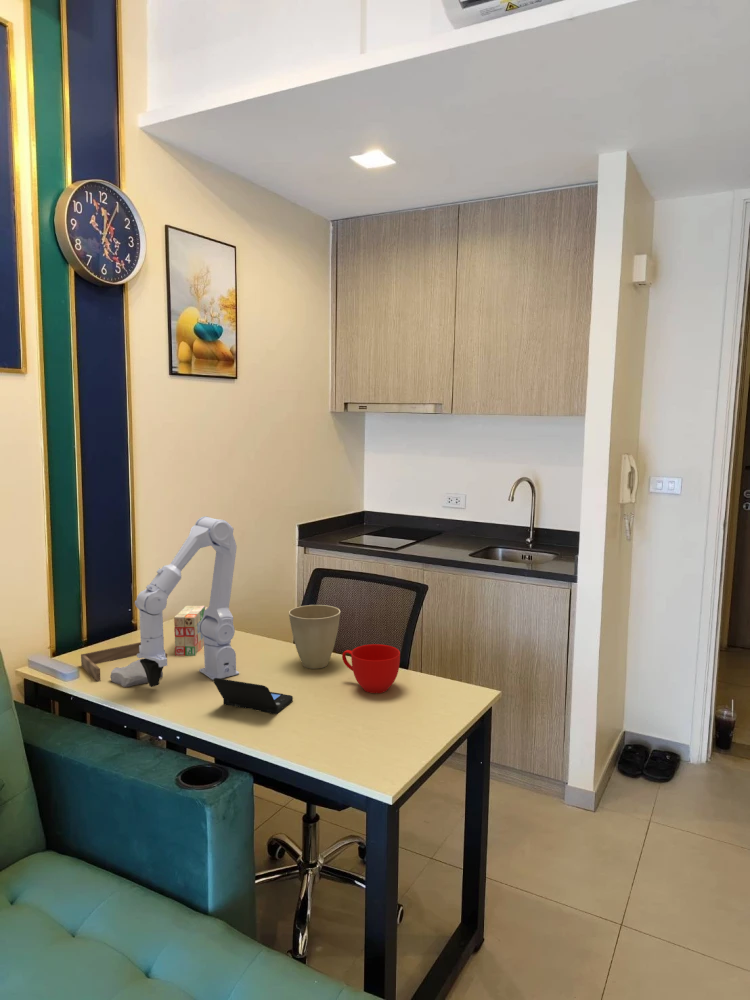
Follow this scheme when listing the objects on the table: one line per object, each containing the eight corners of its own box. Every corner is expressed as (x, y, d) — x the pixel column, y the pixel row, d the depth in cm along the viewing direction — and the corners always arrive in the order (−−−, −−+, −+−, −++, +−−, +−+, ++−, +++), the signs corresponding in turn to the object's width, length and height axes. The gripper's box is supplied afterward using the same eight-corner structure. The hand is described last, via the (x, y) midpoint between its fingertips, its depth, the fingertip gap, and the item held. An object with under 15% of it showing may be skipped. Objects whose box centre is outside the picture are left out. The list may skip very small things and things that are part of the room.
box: (167, 665, 199) (166, 653, 198) (97, 681, 187) (96, 669, 186) (148, 651, 210) (147, 640, 210) (81, 666, 198) (80, 654, 198)
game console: (295, 701, 175) (294, 667, 174) (267, 723, 162) (266, 686, 161) (243, 691, 181) (242, 658, 179) (212, 712, 168) (211, 677, 167)
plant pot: (351, 664, 200) (351, 611, 198) (312, 678, 190) (312, 622, 188) (317, 651, 210) (316, 601, 208) (279, 664, 200) (278, 611, 198)
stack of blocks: (195, 633, 228) (194, 597, 227) (214, 633, 228) (213, 597, 227) (175, 656, 207) (173, 616, 205) (195, 656, 207) (194, 616, 205)
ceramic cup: (355, 673, 193) (355, 638, 192) (408, 685, 185) (408, 649, 183) (329, 688, 182) (329, 652, 181) (384, 702, 174) (384, 664, 172)
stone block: (166, 683, 191) (146, 668, 197) (167, 668, 189) (147, 653, 195) (128, 698, 182) (108, 681, 188) (128, 682, 180) (108, 666, 186)
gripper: (126, 631, 182) (129, 680, 184) (147, 645, 171) (149, 697, 172) (152, 626, 186) (154, 674, 188) (174, 640, 175) (176, 690, 177)
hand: (153, 685), depth 181 cm, fingers closed
